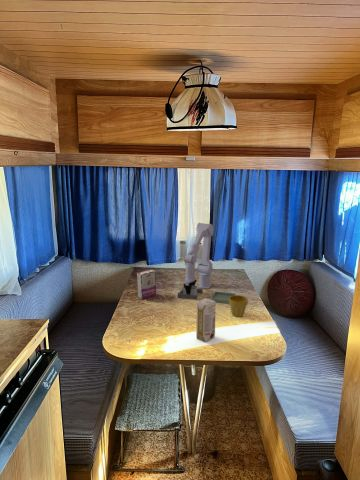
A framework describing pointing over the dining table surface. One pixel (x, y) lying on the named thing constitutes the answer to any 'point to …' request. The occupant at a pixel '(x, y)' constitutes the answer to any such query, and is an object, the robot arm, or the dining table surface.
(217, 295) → the tray
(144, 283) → the candy bar box
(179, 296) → the frame
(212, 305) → the juice carton
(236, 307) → the plant pot
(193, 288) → the grey upright block
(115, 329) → the dining table surface
